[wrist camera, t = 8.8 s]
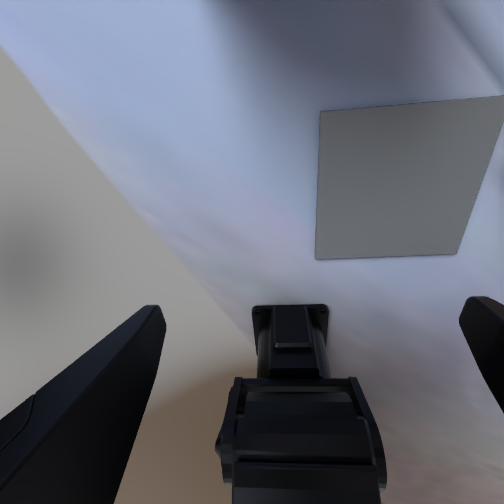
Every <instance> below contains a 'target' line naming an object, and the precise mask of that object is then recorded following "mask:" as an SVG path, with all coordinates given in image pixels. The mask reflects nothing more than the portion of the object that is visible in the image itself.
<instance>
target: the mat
mask: <svg viewBox="0 0 504 504" xmlns="http://www.w3.org/2000/svg"><path fill="white" fill-rule="evenodd" d="M503 122H504V95H503V96H492V97H480V98H469V99H457V100H446V101H435V102H423V103H412V104H400V105H389V106H377V107H366V108H354V109H343V110H332V111H320V130H319V156H318V182H317V208H316V234H315V259H335V258H361V257H387V256H412V255H438V254H457V251H458V249H459V246H460V243H461V240H462V237H463V234H464V232H465V229H466V226H467V223H468V220H469V218H470V215H471V212H472V209H473V206H474V204H475V201H476V198H477V195H478V192H479V190H480V187H481V184H482V181H483V178H484V176H485V173H486V170H487V167H488V164H489V161H490V159H491V156H492V153H493V150H494V147H495V145H496V142H497V139H498V136H499V133H500V131H501V128H502V125H503Z"/></svg>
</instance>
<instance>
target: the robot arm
mask: <svg viewBox="0 0 504 504" xmlns="http://www.w3.org/2000/svg"><path fill="white" fill-rule="evenodd" d="M320 310H323V311H320ZM256 311H259V312H256ZM328 314H329V311H328V307H327V306H326V305H324V304H310V305H269V306H255V307H253V308H252V319H253V328H254V336H255V345H256V353H257V356H258V360H257V378H243V377H235V380H234V385H233V387H231V390H230V392H229V397H228V404H227V408H226V412H225V417H224V421H223V424H222V426H221V429H220V431H219V434H218V437H217V439H216V443H215V452H216V453H217V454H218V456H219V457H220V459H221V466H222V474H223V481H224V484H225V485H232V504H381V498H380V490H385V489H386V484H387V469H386V460H385V454H384V449H383V444H382V440H381V436H380V433H379V430H378V427H377V424H376V422H375V419H374V417H373V415H372V413H371V410H370V408H369V406H368V403H367V401H366V399H365V396H364V394H363V392H362V389H361V387H360V385H359V382H358V380H357V378H356V377H348V378H331V373H330V368H329V363H328V358H327V353H326V339H327V327H328ZM459 324H460V327H461V329H462V332H463V334H464V336H465V338H466V341H467V343H468V345H469V347H470V350H471V352H472V354H473V356H474V359H475V361H476V363H477V365H478V367H479V370H480V372H481V374H482V376H483V378H484V380H485V381H486V383H487V385H488V387H489V389H490V390H491V392H492V394H493V395H494V397H495V399H496V401H497V402H498V404H499V406H500V408H501V409H502V411H503V413H504V305H503V304H501V303H499V302H497V301H495V300H493V299H491V298H489V297H486V296H473V297H469V298H468V299H467V300H466V302H465V305H464V307H463V310H462V312H461V314H460V317H459ZM165 333H166V322H165V319H164V316H163V313H162V311H161V308H160V306H159V305H146V306H144V307H142V308H141V309H140V310H139V311H137V312H136V313H135V314H134V315H132V316H131V317H130V318H129V319H127V320H126V321H125V322H123V323H122V324H121V325H120V326H118V327H117V328H116V329H115V330H113V331H112V332H111V333H110V334H108V335H107V336H106V337H105V338H104V339H102V340H101V341H99V342H98V343H97V344H96V345H95V346H93V347H92V348H91V349H89V351H87V352H86V353H84V354H83V355H82V356H81V357H79V358H78V359H77V360H76V361H74V362H73V363H72V364H71V365H69V366H68V367H67V368H66V369H64V370H63V371H62V372H61V373H59V374H58V375H57V376H55V377H54V378H53V379H52V380H50V381H49V382H48V383H47V384H45V385H44V386H43V387H42V388H40V389H39V390H38V391H37V392H36V393H35V394H33V395H31V396H30V397H29V398H28V399H26V400H25V401H24V402H23V403H21V404H20V405H19V406H18V407H16V408H15V409H14V410H12V411H11V412H10V413H8V414H7V415H6V416H5V417H3V418H2V419H1V420H0V504H114V501H115V498H116V495H117V492H118V489H119V486H120V483H121V480H122V477H123V474H124V471H125V468H126V465H127V462H128V459H129V456H130V453H131V450H132V447H133V444H134V441H135V438H136V435H137V432H138V429H139V426H140V423H141V420H142V417H143V414H144V411H145V408H146V405H147V402H148V399H149V396H150V393H151V390H152V387H153V384H154V381H155V378H156V374H157V370H158V366H159V361H160V356H161V351H162V347H163V343H164V338H165Z"/></svg>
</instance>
